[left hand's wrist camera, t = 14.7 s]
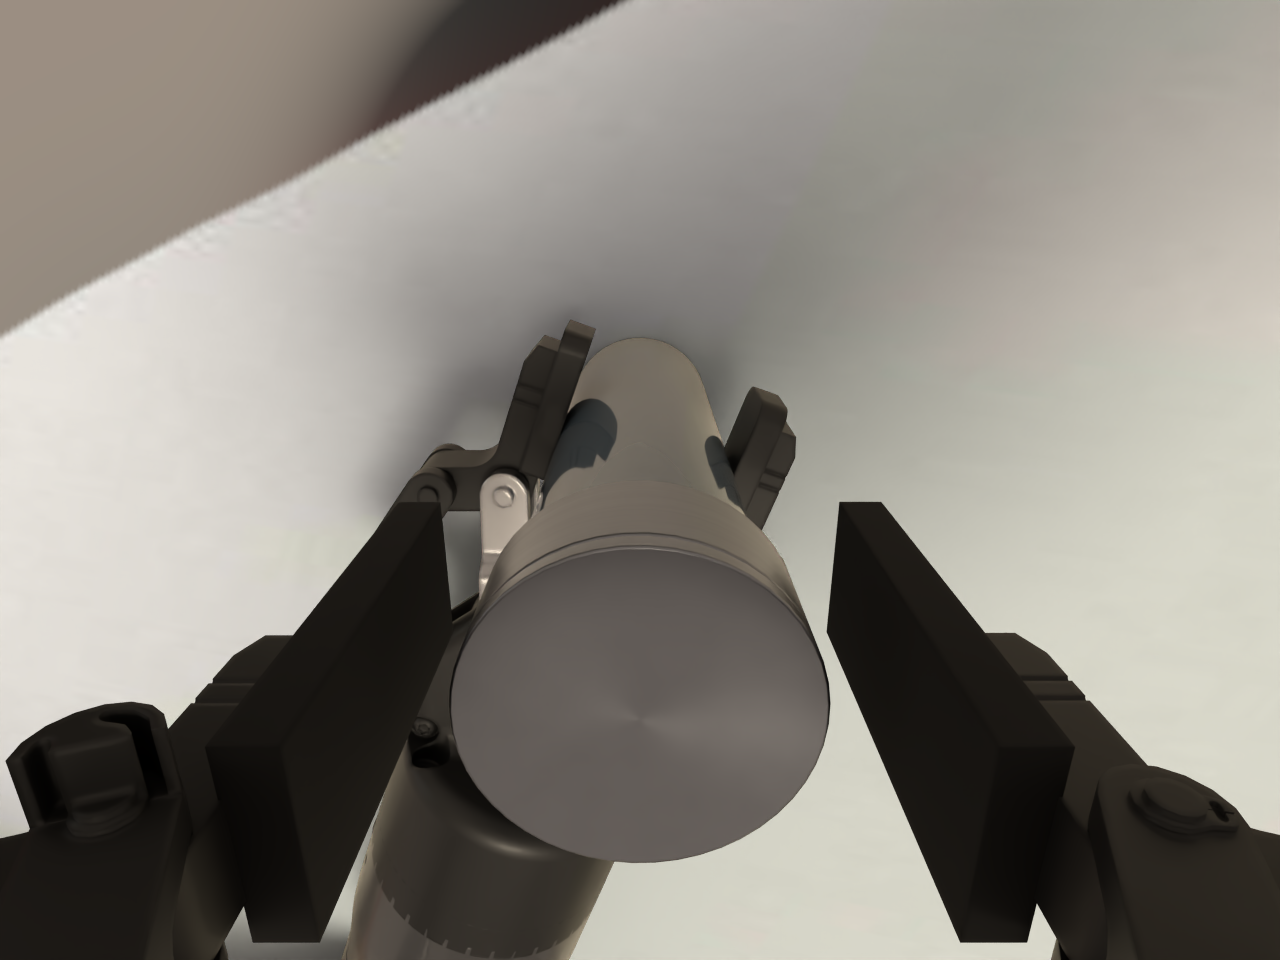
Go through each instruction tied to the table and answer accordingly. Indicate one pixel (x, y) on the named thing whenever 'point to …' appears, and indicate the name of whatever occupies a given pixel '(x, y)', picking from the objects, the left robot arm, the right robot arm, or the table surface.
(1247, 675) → the table surface
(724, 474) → the grey cylindrical bottle
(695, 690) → the lid
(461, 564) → the table surface
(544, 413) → the right robot arm
